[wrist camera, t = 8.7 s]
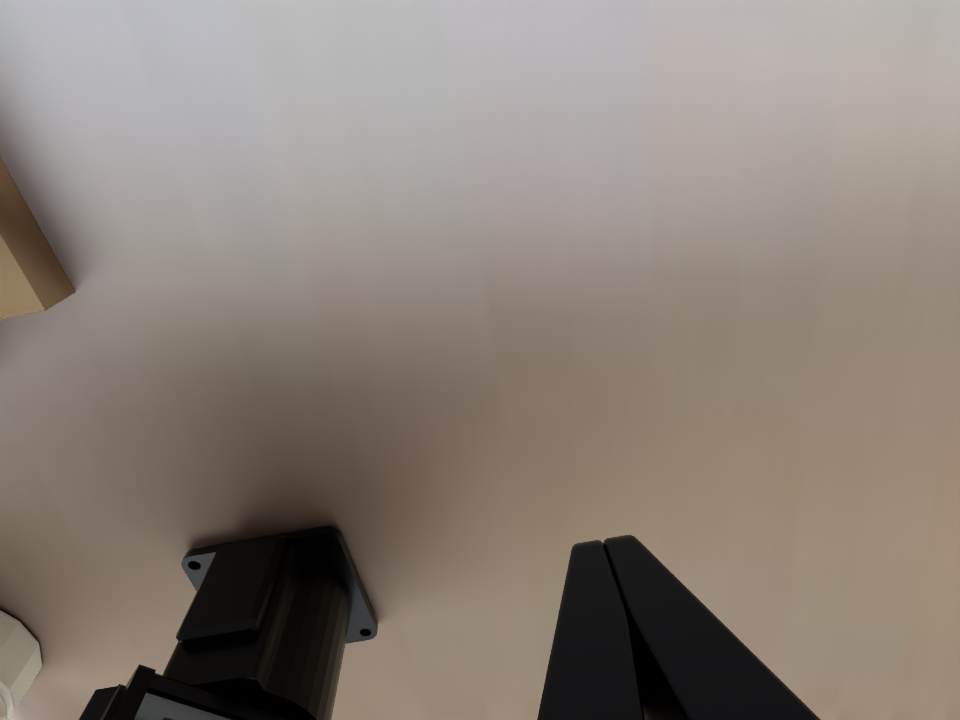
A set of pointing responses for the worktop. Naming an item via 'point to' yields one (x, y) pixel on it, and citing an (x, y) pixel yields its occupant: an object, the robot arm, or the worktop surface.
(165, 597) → the worktop surface
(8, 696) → the white cup
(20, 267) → the board
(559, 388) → the worktop surface
